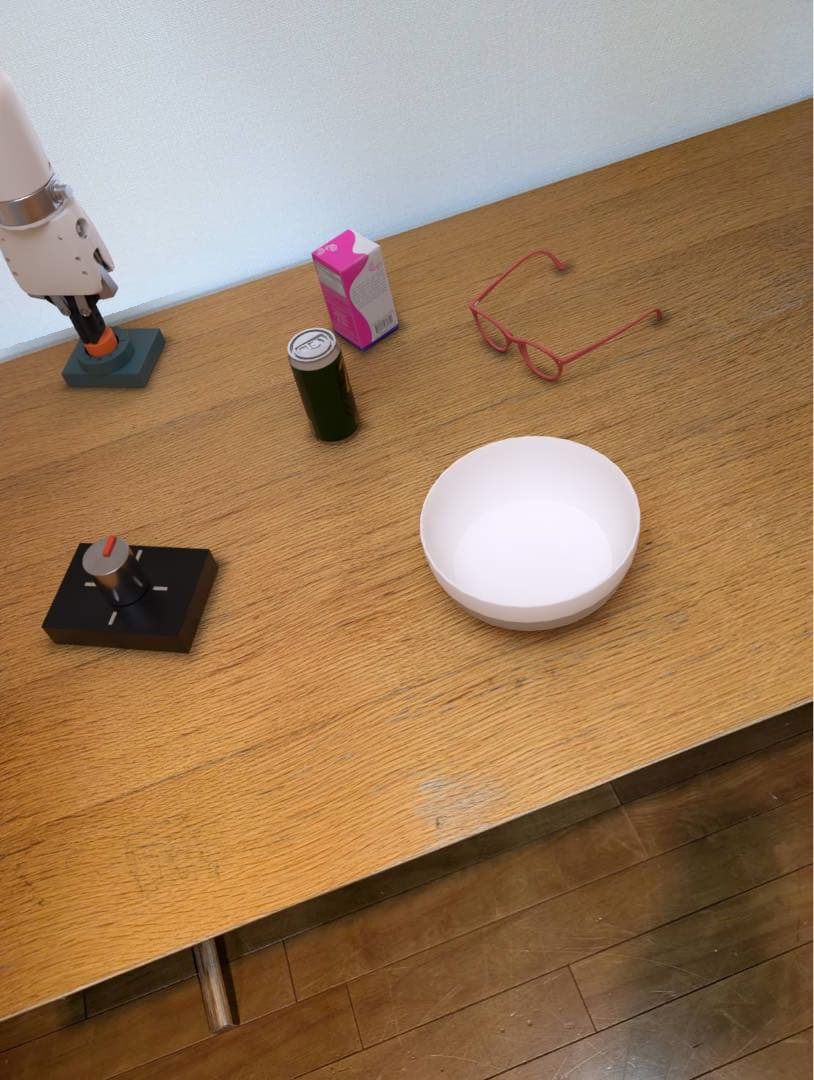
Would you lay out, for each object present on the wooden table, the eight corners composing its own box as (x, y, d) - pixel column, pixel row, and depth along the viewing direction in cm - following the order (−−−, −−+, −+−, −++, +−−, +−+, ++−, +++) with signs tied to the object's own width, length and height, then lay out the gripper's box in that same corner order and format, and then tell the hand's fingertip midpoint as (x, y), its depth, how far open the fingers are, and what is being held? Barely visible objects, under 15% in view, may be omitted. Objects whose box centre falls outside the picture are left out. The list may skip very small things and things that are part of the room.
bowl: (483, 476, 100) (475, 415, 93) (666, 527, 92) (671, 465, 86) (397, 622, 91) (380, 567, 84) (593, 693, 83) (592, 638, 76)
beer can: (324, 454, 105) (296, 370, 96) (305, 424, 109) (277, 340, 99) (369, 433, 106) (346, 348, 97) (349, 404, 109) (325, 319, 100)
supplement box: (369, 306, 119) (350, 225, 110) (400, 327, 116) (383, 245, 107) (331, 331, 117) (309, 251, 108) (362, 353, 114) (341, 272, 105)
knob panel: (54, 643, 95) (39, 625, 93) (91, 560, 101) (78, 541, 99) (188, 653, 92) (177, 635, 90) (218, 566, 98) (209, 547, 96)
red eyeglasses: (458, 334, 114) (453, 299, 110) (556, 263, 119) (554, 228, 115) (570, 403, 104) (569, 367, 100) (671, 323, 109) (673, 286, 105)
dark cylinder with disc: (139, 607, 93) (118, 574, 88) (97, 605, 94) (73, 572, 89) (154, 569, 95) (134, 535, 91) (112, 567, 96) (90, 533, 92)
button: (83, 357, 116) (77, 346, 115) (94, 336, 118) (88, 325, 117) (111, 357, 115) (105, 346, 114) (122, 336, 117) (116, 325, 116)
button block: (67, 388, 119) (53, 363, 116) (92, 341, 123) (79, 316, 120) (143, 389, 116) (131, 363, 113) (165, 341, 121) (154, 316, 118)
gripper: (104, 173, 101) (164, 314, 116) (-24, 177, 105) (50, 314, 119) (77, 217, 97) (143, 358, 111) (-56, 220, 100) (25, 357, 115)
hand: (95, 335), depth 115 cm, fingers closed
